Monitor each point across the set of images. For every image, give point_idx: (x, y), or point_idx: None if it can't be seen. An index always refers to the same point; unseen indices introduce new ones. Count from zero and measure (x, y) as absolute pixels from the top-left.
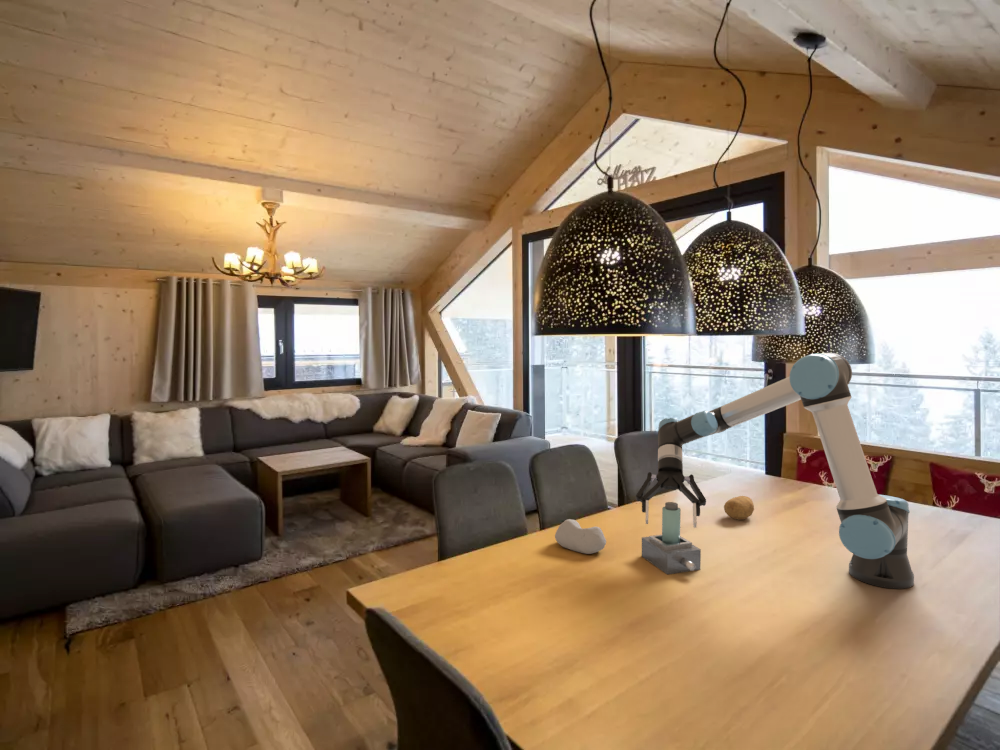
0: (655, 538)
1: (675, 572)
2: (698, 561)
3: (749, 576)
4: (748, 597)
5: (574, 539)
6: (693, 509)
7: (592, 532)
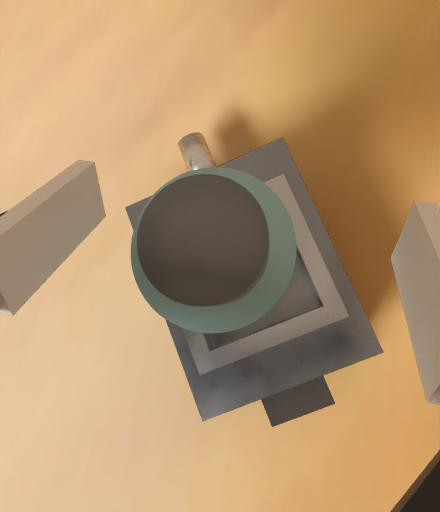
0: (320, 278)
1: None
2: None
3: (20, 188)
4: (77, 47)
5: None
6: (28, 212)
7: None
